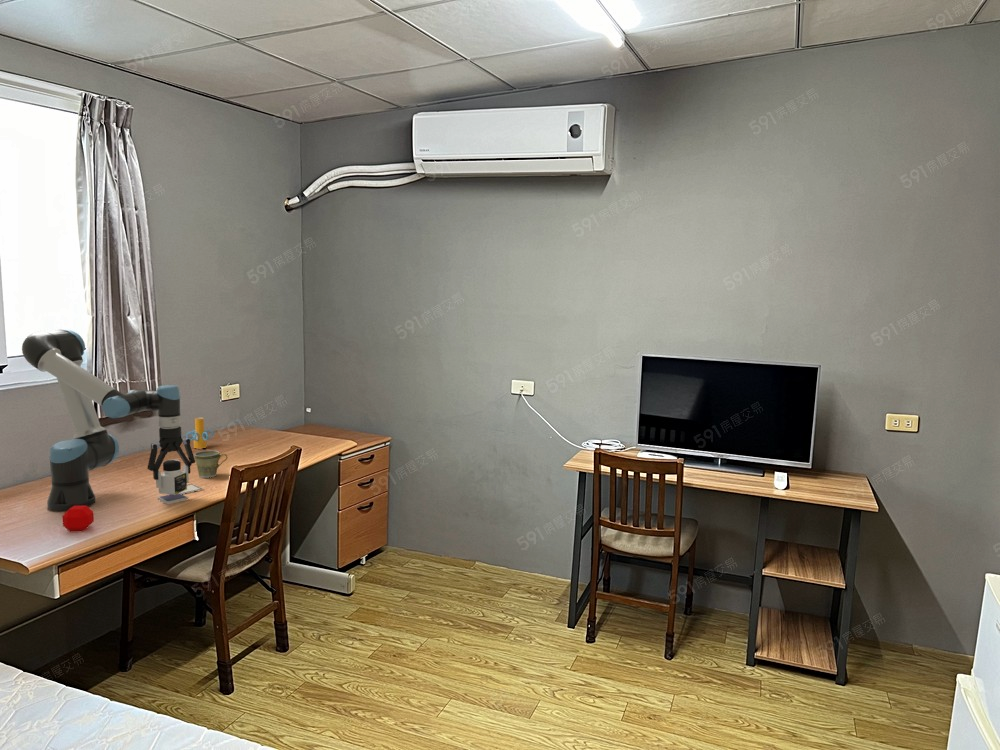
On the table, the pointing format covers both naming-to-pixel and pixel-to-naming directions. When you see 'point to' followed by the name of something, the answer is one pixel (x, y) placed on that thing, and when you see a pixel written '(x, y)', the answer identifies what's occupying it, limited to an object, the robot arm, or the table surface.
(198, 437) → the cylinder
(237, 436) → the table surface
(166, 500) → the ink pad
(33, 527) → the table surface
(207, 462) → the ceramic cup
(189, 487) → the print card
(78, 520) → the ball
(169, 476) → the medicine bottle
